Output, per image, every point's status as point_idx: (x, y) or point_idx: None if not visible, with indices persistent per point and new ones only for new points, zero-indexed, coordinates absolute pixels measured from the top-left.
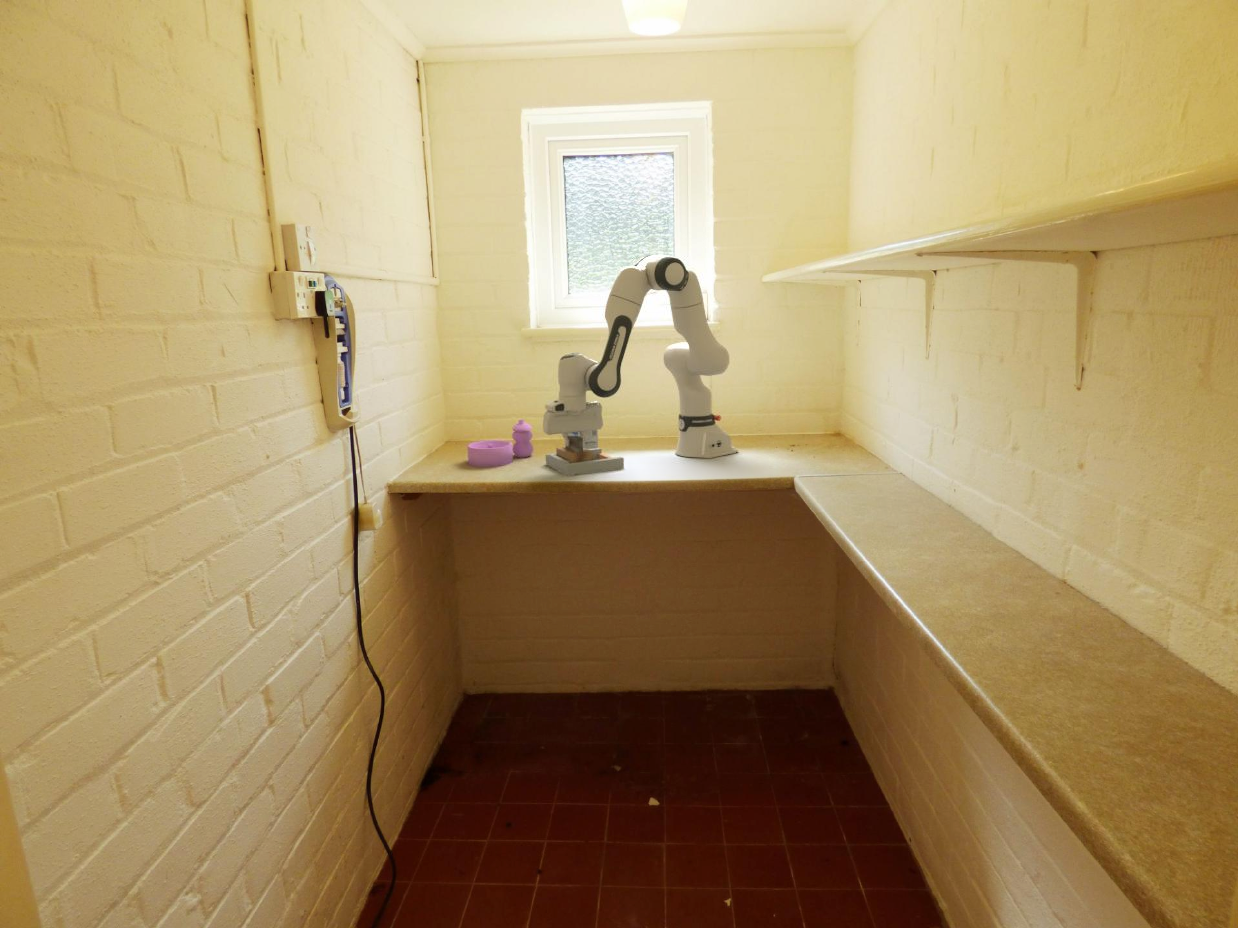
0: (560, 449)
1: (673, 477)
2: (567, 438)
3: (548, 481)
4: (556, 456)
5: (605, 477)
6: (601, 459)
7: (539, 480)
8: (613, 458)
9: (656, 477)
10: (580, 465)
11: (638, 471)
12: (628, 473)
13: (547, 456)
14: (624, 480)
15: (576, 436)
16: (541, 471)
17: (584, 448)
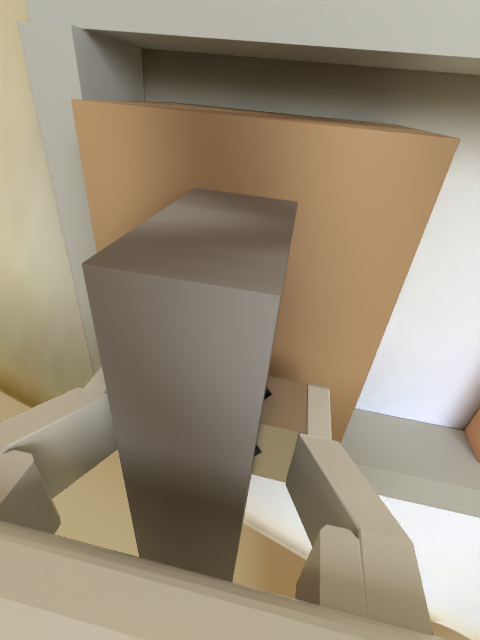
0: (101, 245)
1: (466, 612)
2: (72, 476)
3: (42, 400)
4: (89, 231)
5: (273, 491)
6: (360, 468)
7: (6, 367)
8: (441, 497)
9: (423, 585)
10: None
11: (464, 522)
12: (398, 513)
13: (38, 10)
14: (303, 544)
15: (211, 521)
16: (26, 215)
17: (352, 376)
